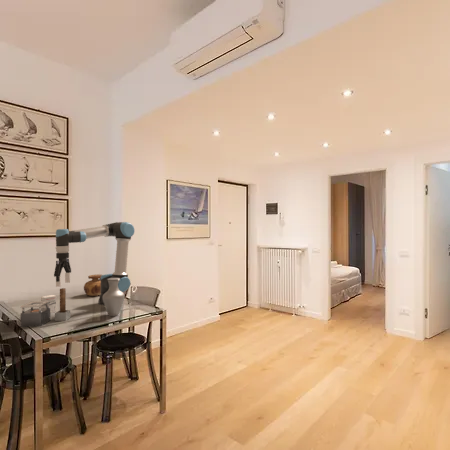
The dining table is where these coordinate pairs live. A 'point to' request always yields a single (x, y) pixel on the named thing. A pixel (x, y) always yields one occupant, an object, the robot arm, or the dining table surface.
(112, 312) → the vase
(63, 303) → the stylus
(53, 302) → the ink box
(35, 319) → the grey clear-topped case
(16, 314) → the dining table surface
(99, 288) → the clay pot
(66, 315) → the pen cup
